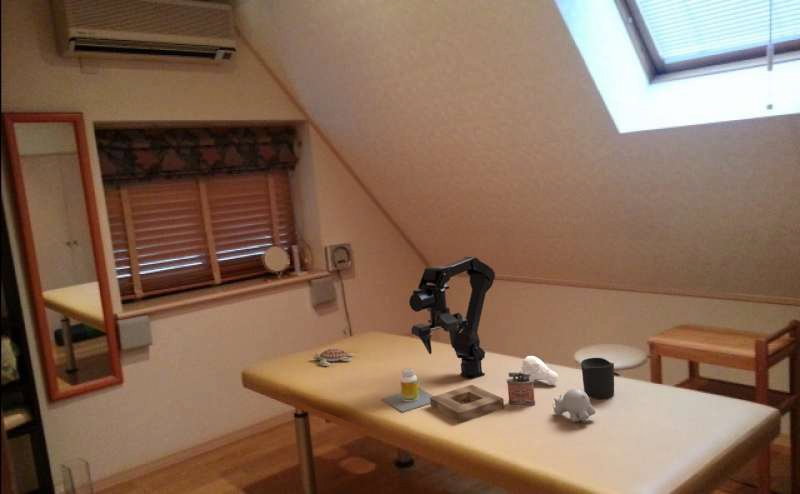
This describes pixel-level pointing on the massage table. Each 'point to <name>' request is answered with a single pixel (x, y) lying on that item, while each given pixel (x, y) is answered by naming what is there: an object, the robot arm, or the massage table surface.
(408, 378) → the supplement bottle
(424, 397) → the mat
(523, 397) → the lighter
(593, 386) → the pen holder
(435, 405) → the pocket block
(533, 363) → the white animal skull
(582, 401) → the round bodied animal figurine
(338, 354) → the decorative turtle
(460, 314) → the robot arm
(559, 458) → the massage table surface
